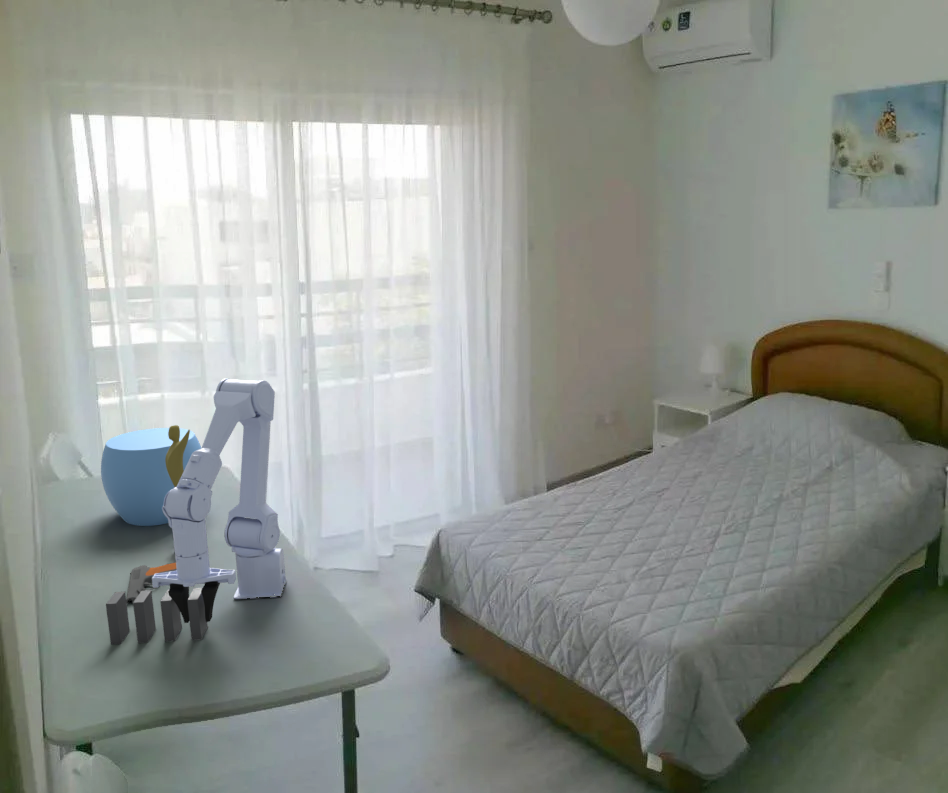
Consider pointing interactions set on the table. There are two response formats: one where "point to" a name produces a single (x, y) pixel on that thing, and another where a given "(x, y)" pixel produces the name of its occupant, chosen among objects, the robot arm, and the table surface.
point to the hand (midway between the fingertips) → (198, 619)
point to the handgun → (144, 579)
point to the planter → (141, 473)
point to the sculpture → (176, 454)
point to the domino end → (117, 617)
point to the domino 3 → (197, 614)
